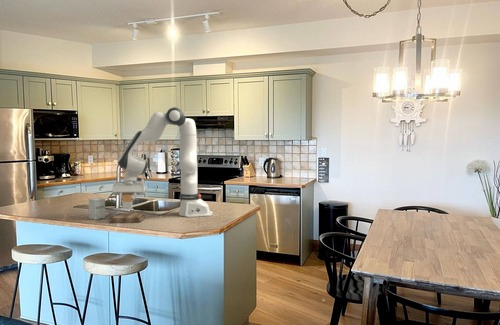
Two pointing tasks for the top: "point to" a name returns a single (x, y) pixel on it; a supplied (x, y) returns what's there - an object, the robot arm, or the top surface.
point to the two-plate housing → (127, 201)
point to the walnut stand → (128, 218)
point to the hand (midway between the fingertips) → (127, 199)
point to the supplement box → (96, 208)
